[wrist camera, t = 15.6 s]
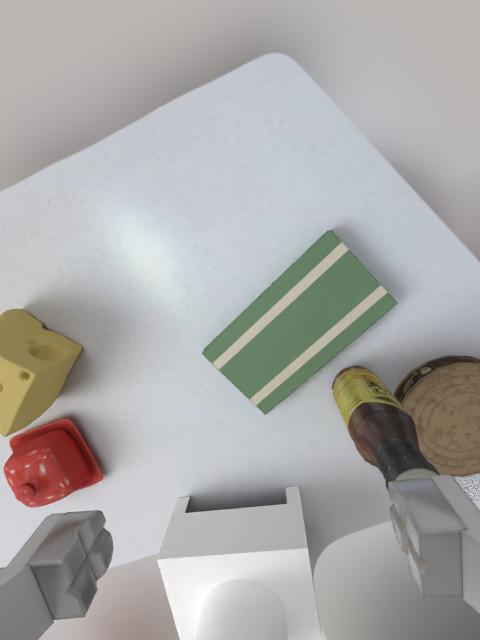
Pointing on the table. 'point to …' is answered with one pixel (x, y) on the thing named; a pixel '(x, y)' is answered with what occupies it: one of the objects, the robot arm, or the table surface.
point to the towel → (299, 323)
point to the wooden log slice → (446, 412)
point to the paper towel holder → (240, 573)
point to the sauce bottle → (380, 426)
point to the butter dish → (50, 464)
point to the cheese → (30, 368)
